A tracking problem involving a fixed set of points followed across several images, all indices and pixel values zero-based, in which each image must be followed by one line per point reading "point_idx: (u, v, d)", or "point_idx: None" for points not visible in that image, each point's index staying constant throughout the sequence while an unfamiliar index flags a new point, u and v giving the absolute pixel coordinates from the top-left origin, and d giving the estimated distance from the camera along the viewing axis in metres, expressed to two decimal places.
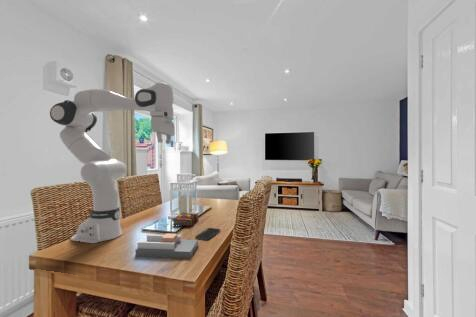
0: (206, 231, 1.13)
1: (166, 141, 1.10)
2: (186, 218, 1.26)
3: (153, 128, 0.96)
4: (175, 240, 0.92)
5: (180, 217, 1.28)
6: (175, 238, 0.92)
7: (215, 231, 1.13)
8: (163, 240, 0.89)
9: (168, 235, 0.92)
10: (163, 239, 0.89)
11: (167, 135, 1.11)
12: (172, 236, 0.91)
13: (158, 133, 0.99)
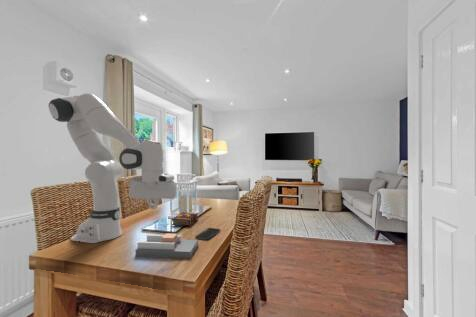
0: (206, 231, 1.13)
1: None
2: (186, 218, 1.26)
3: (174, 195, 0.90)
4: (175, 240, 0.92)
5: (180, 217, 1.28)
6: (175, 238, 0.92)
7: (215, 231, 1.13)
8: (163, 240, 0.89)
9: (168, 235, 0.92)
10: (163, 239, 0.89)
11: (149, 198, 0.91)
12: (172, 236, 0.91)
13: (158, 199, 0.92)
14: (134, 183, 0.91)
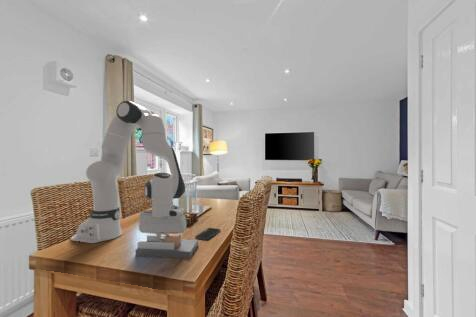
0: (206, 231, 1.13)
1: None
2: (185, 217, 1.27)
3: (184, 229, 0.90)
4: (178, 240, 0.92)
5: None
6: (178, 238, 0.92)
7: (215, 231, 1.13)
8: (167, 240, 0.89)
9: (171, 235, 0.92)
10: (167, 239, 0.89)
11: (159, 232, 0.91)
12: (175, 236, 0.90)
13: None
14: (144, 216, 0.90)
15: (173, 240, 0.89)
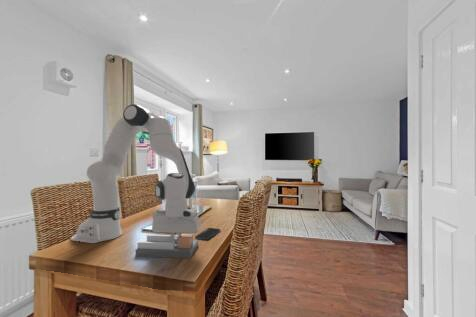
0: (206, 231, 1.13)
1: None
2: None
3: (198, 230, 0.90)
4: (191, 240, 0.91)
5: None
6: (191, 238, 0.91)
7: (215, 231, 1.13)
8: (179, 240, 0.89)
9: (184, 235, 0.91)
10: (179, 239, 0.89)
11: (173, 232, 0.91)
12: (188, 236, 0.90)
13: (181, 233, 0.91)
14: (158, 217, 0.90)
15: (186, 240, 0.88)
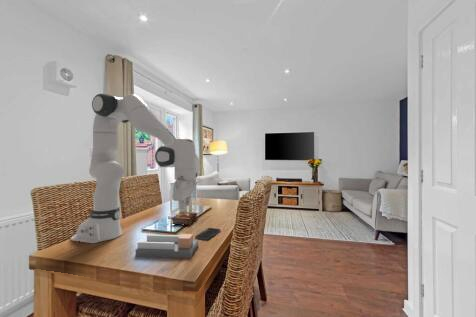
0: (206, 231, 1.13)
1: None
2: (185, 217, 1.28)
3: None
4: (191, 240, 0.91)
5: (179, 216, 1.30)
6: (191, 238, 0.91)
7: (215, 231, 1.13)
8: (179, 240, 0.89)
9: (184, 235, 0.91)
10: (179, 239, 0.89)
11: None
12: (188, 236, 0.90)
13: None
14: (183, 182, 0.84)
15: (186, 240, 0.88)
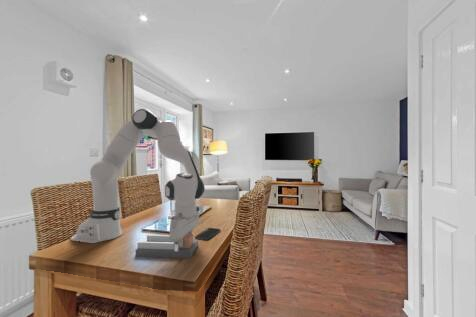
0: (206, 231, 1.13)
1: None
2: None
3: None
4: (191, 240, 0.91)
5: None
6: (191, 238, 0.91)
7: (215, 231, 1.13)
8: None
9: (184, 235, 0.91)
10: None
11: None
12: (188, 236, 0.90)
13: None
14: (181, 221, 0.84)
15: (186, 240, 0.88)
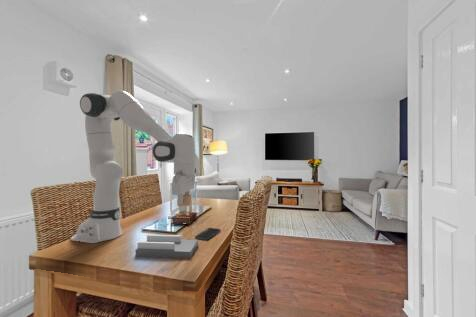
0: (206, 231, 1.13)
1: None
2: (185, 216, 1.29)
3: None
4: (190, 200, 0.92)
5: (179, 215, 1.31)
6: (190, 198, 0.92)
7: (215, 231, 1.13)
8: None
9: (183, 195, 0.91)
10: None
11: None
12: (187, 195, 0.91)
13: None
14: (182, 177, 0.84)
15: (186, 198, 0.89)
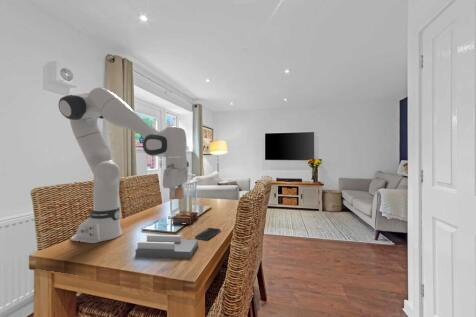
0: (206, 231, 1.13)
1: None
2: (185, 216, 1.29)
3: None
4: (182, 193, 0.92)
5: (180, 215, 1.31)
6: (182, 191, 0.92)
7: (215, 231, 1.13)
8: None
9: (175, 188, 0.91)
10: None
11: None
12: (180, 189, 0.91)
13: None
14: (174, 170, 0.84)
15: (178, 192, 0.89)
